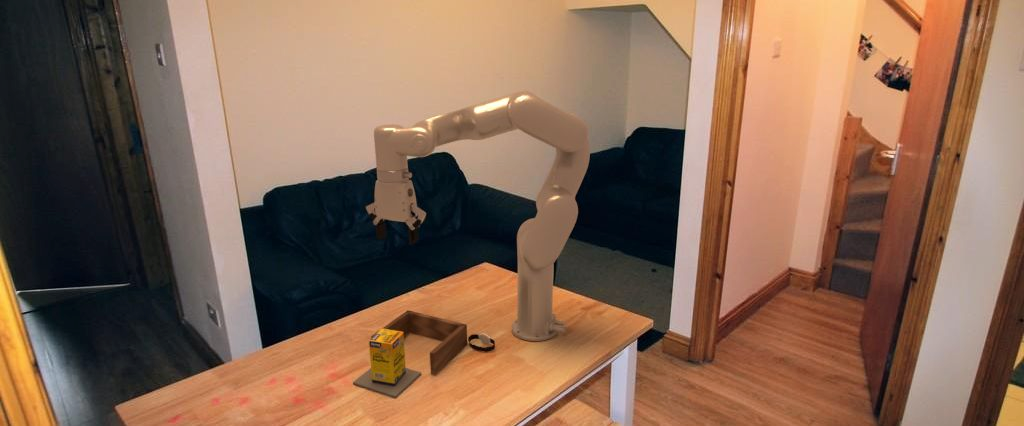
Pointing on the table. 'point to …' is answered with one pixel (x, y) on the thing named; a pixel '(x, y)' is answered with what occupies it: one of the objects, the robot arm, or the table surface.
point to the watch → (484, 339)
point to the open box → (433, 335)
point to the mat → (387, 390)
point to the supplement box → (387, 357)
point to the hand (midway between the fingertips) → (397, 240)
